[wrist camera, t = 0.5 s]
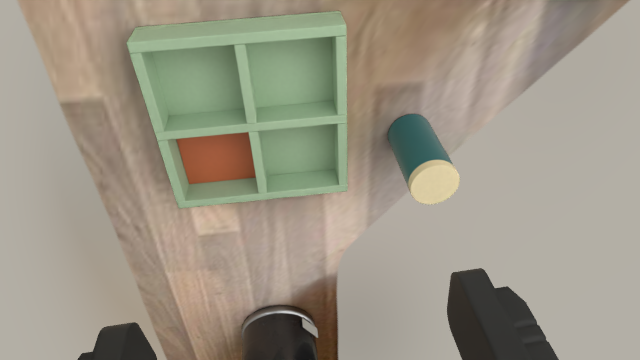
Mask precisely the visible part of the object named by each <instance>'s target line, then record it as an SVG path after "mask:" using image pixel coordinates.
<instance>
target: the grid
mask: <svg viewBox="0 0 640 360" xmlns="http://www.w3.org/2000/svg"><path fill="white" fill-rule="evenodd" d="M126 44H127V47H128V50H129V53H130V57H131V60H132V63H133V66H134V69H135V72H136V75H137V79H138V82H139V85H140V88H141V91H142V94H143V97H144V101H145V104H146V107H147V110H148V113H149V116H150V120H151V123H152V126H153V129H154V132H155V135H156V138H157V140H158V141H157V142H158V145H159V148H160V151H161V155H162V158H163V161H164V164H165V167H166V170H167V173H168V177H169V180H170V183H171V186H172V189H173V192H174V195H175V199H176V202H177V204H178V208H189V207H199V206H209V205H218V204H228V203H238V202H247V201H257V200H266V199H276V198H286V197H295V196H305V195H315V194H324V193H334V192H344V191H347V190H348V189H347V184H348V179H347V47H346V24H345V22H344V19H343V17H342V15H341V12H340V11H332V12H319V13H307V14H294V15H282V16H269V17H257V18H244V19H231V20H219V21H206V22H194V23H181V24H169V25H156V26H144V27H136V28H135V29H134V31H133V33H132V35H131V36H130V38H129V40H128V41H127V43H126Z"/></svg>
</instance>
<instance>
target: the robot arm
mask: <svg viewBox="0 0 640 360" xmlns="http://www.w3.org/2000/svg"><path fill="white" fill-rule="evenodd" d="M447 315H448V321H449V325H450V329H451V332H452V334H453V337H454V340H455V342H456V345H457V347H458V350H459V352H460V355H461V357H462V360H559V359H558V358H557V356H556V354H555V353H554V351H553V349H552V347H551V346H550V344H549V342H547V341H546V337H545V335H544V333H543V332H542V330H541V328H540V326H538V325H537V322H536V319H535V318H534V316H533V314H532V313H531V311H530V309H529V307H528V306H527V304H526V302H525V301H524V300H522V299H521V298H520V297H519V296H518V295H517V294H516V293H514V292H513V291H512V290H511V289H510V288H509V287H501V288H494V286H493V285H492V283H491V281H490V279H489V277H488V275H487V273H486V272H485V271H484V270H483V269H481V268H479V269H473V270H467V271H460V272H453V273H452V275H451V280H450V288H449V296H448V306H447ZM315 336H316V337H317V338H318V332H317V328H316V327H315V323H314V320H313V318H312V317H311V315H310V314H308V313H307V312H306V311H304V310H302V309H299V308H296V307H291V306H273V307H268V308H264V309H261V310H259V311H257V312H255V313H253V314H251V315H250V316H249V317H248V318H247V319H246V320H245V321H244V323H243V325H242V360H318V357H317V347H316V339H315ZM78 360H157V357H156V354H155V352H154V351H153V349H152V347H151V346H150V344H149V342H148V340H147V339H146V337H145V335H144V334H143V332H142V330H141V328H140V327H139V325H138V324H137V323H127V324H121V325H114V326H107V327H104V328H102V330H101V331H100V333H99V335H98V338H97V341H96V344H95V347H94V350H93V352H88V353H82V354H81V356H80V357H79V358H78Z"/></svg>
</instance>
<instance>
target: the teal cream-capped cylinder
mask: <svg viewBox="0 0 640 360" xmlns="http://www.w3.org/2000/svg"><path fill="white" fill-rule="evenodd" d="M388 140H389V143H390V145H391V147H392V150H393V152H394V155H395V157H396V159H397V162H398V164H399V166H400V169H401V171H402V174H403V176H404V178H405V181H406V183H407V185H408V188H409V190H410V193H411V195H412V197H413V198H414V199H415V200H416V201H418V202H420V203H422V204H437V203H440V202H442V201H445V200H446V199H448V198H449V197H451V196H452V195H453V194H454V193H455V191H456V190H457V188H458V186H459V183H460V178H459V174H458V172H457V171H456V169H455V167H454V165H453V164H452V162H451V160H450V158H449V157H448V155H447V153H446V151H445V150H444V148H443V146H442V145H441V143H440V141H439V139H438V138H437V136H436V134H435V133H434V131H433V129H432V127H431V126H430V124H429V122H428V121H427V120H426V119H425V118H424V117H423V116H420V115H417V114H408V115H405V116H402V117H400V118H399V119H397V120H396V121H395V122H394V123H393V124H392V125H391V127H390V129H389V132H388Z"/></svg>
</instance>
